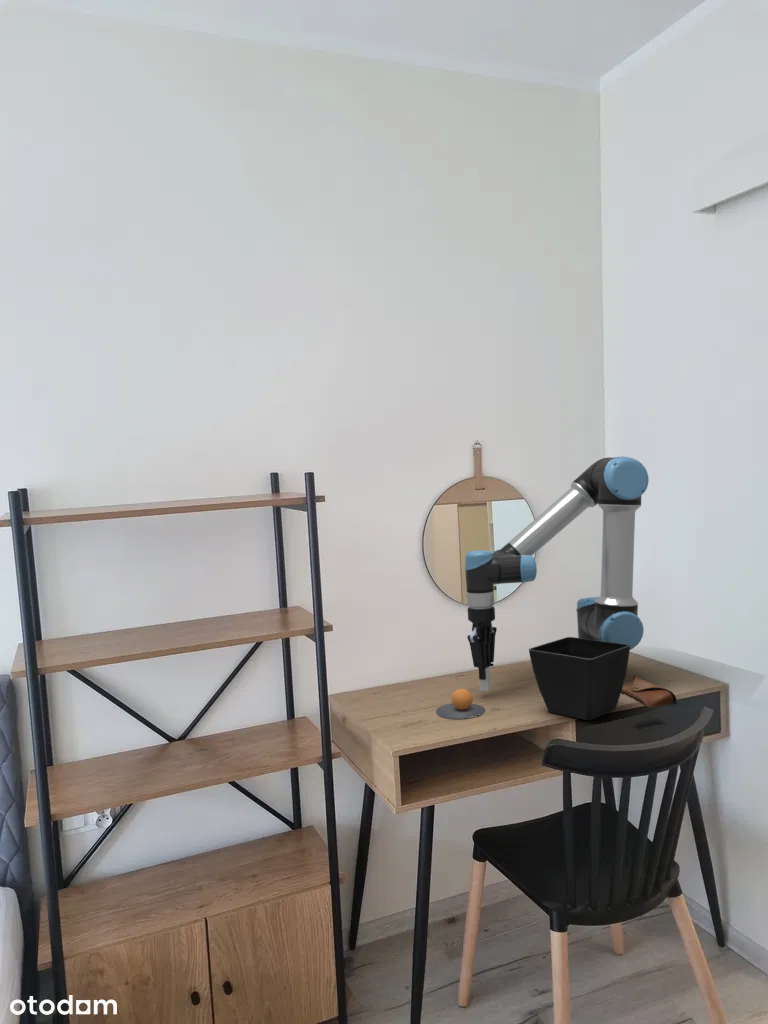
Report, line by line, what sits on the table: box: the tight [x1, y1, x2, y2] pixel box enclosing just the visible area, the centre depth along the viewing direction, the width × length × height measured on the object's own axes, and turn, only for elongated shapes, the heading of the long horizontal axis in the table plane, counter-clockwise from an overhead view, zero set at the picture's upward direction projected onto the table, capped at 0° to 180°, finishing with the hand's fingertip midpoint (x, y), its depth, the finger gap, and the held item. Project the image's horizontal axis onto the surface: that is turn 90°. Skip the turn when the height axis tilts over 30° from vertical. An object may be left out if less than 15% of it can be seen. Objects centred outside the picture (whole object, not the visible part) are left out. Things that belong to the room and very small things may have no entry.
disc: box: [435, 702, 486, 720], centre depth 201 cm, size 13×13×1 cm
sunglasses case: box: [621, 674, 677, 708], centre depth 205 cm, size 18×7×7 cm
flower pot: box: [528, 636, 631, 721], centre depth 196 cm, size 19×19×17 cm
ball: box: [451, 688, 473, 710], centre depth 203 cm, size 6×6×6 cm
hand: (485, 689), depth 213 cm, fingers closed
